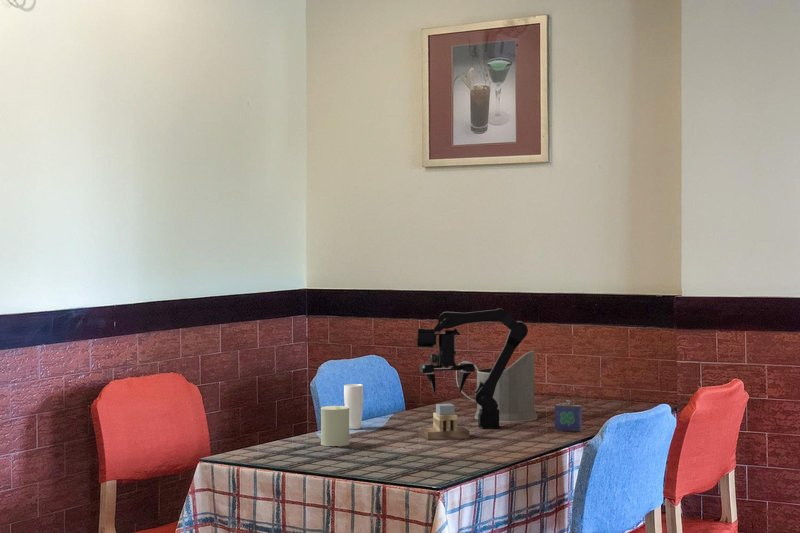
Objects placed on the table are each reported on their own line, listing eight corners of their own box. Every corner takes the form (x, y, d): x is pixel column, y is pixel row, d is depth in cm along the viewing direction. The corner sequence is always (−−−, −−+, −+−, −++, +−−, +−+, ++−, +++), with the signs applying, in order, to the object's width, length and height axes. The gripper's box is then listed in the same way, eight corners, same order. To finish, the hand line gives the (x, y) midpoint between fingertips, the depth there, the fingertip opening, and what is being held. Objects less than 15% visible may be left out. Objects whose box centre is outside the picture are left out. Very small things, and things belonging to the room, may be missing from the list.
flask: (582, 431, 334) (582, 399, 334) (580, 432, 331) (580, 400, 331) (555, 430, 337) (555, 398, 337) (553, 431, 335) (553, 399, 335)
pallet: (450, 426, 330) (450, 411, 330) (457, 430, 322) (457, 415, 322) (433, 427, 328) (433, 412, 328) (439, 431, 320) (439, 416, 320)
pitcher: (524, 423, 352) (523, 353, 352) (443, 418, 367) (443, 350, 367) (546, 415, 372) (545, 348, 372) (469, 410, 387) (468, 346, 387)
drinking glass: (360, 430, 340) (360, 386, 340) (341, 429, 341) (341, 386, 341) (365, 427, 346) (365, 384, 346) (346, 426, 348) (346, 383, 348)
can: (327, 447, 307) (327, 408, 307) (316, 443, 315) (315, 405, 315) (354, 445, 311) (354, 406, 311) (342, 440, 319) (342, 403, 319)
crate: (450, 412, 328) (450, 403, 328) (454, 414, 323) (454, 405, 323) (435, 413, 327) (435, 404, 327) (439, 415, 322) (439, 406, 322)
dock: (461, 433, 331) (461, 426, 331) (469, 438, 322) (469, 430, 322) (421, 435, 328) (421, 428, 328) (427, 440, 319) (427, 432, 319)
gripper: (466, 345, 355) (466, 389, 355) (415, 346, 351) (415, 390, 351) (475, 347, 344) (475, 392, 344) (422, 349, 340) (423, 394, 340)
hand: (447, 392), depth 345 cm, fingers open, 9 cm apart
